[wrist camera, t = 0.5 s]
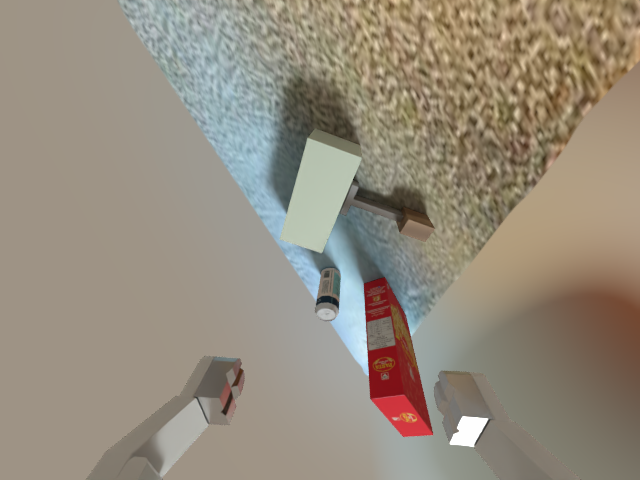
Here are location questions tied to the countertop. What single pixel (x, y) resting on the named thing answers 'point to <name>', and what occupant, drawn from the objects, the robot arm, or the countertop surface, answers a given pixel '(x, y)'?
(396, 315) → the food packaging
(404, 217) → the scraper
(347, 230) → the countertop surface
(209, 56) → the countertop surface
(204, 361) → the robot arm
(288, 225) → the pale green bridge
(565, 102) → the countertop surface
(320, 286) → the beer can
